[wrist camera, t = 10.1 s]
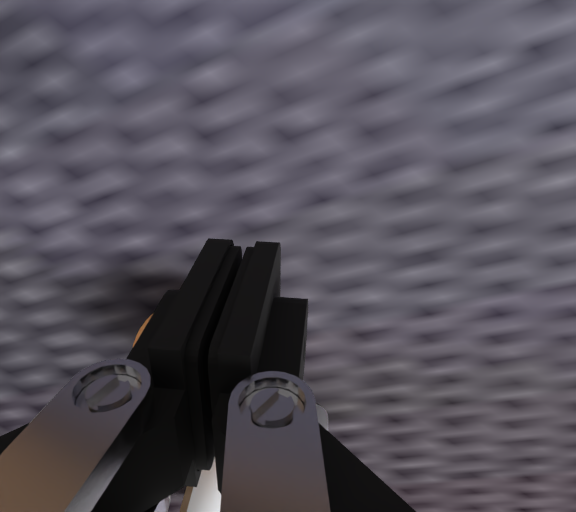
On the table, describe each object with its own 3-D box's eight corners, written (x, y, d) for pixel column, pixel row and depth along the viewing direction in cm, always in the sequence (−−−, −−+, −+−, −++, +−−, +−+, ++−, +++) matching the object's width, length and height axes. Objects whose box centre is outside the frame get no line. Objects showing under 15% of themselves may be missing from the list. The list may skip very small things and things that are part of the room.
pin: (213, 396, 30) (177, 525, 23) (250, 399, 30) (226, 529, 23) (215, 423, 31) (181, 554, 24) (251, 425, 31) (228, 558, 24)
